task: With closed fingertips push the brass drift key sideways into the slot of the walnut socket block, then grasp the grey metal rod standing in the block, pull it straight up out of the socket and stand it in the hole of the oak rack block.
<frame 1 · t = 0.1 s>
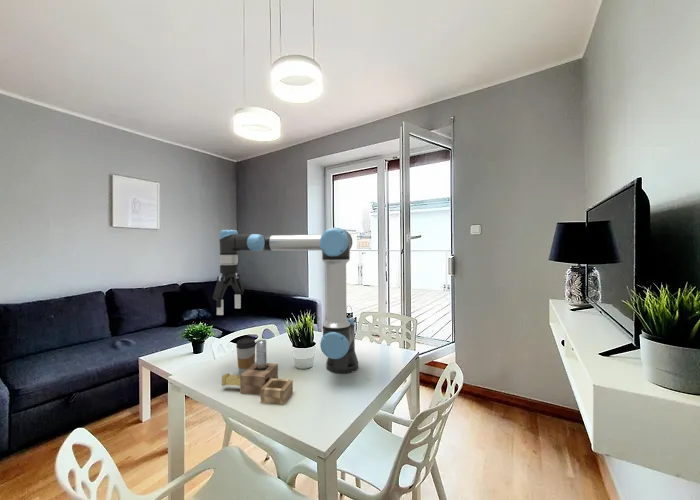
hand: (229, 311, 133), 28 cm above the table, fingers open, 13 cm apart
rack block: (277, 397, 111), on the table
grey metal rod: (261, 384, 122), resting in socket block
coffee cup: (246, 374, 132), on the table
drift key: (239, 380, 117), point 4 cm above the table, slide at 0.0 cm
socket block: (260, 386, 120), on the table
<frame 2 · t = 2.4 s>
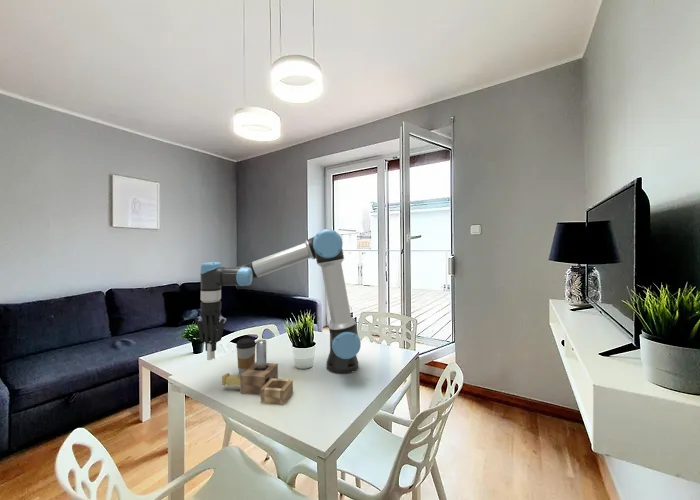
hand: (210, 358, 119), 12 cm above the table, fingers closed
nothing on the table moved.
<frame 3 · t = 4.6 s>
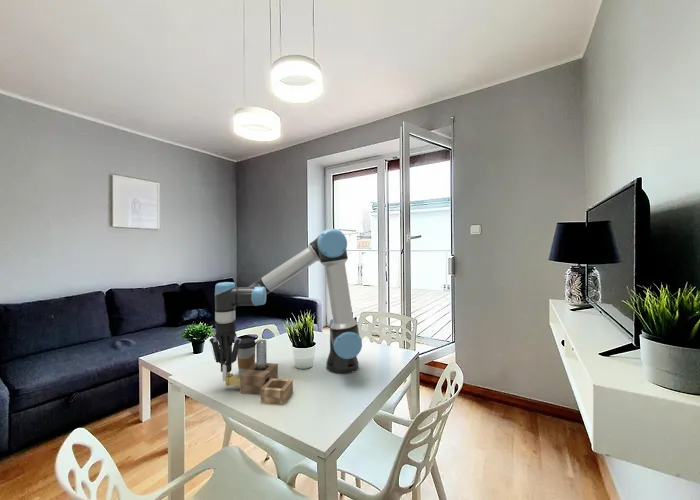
hand: (226, 379, 118), 4 cm above the table, fingers closed
drift key: (243, 380, 117), point 4 cm above the table, slide at 1.5 cm, touching gripper
everything else where it was.
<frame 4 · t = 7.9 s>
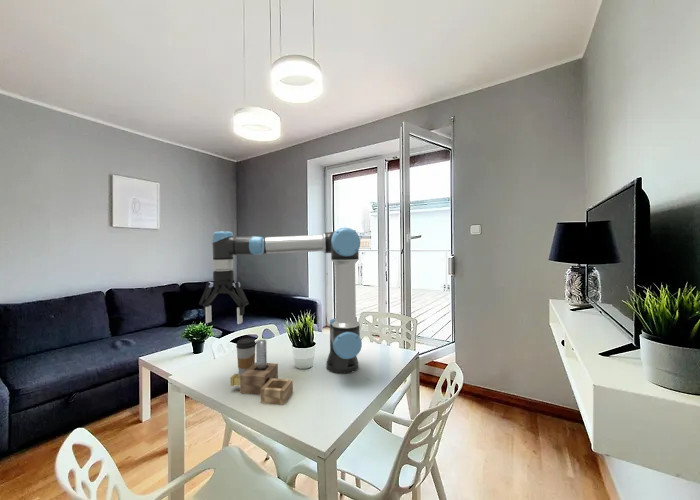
hand: (224, 323, 118), 26 cm above the table, fingers open, 13 cm apart
drift key: (248, 380, 117), point 4 cm above the table, slide at 3.6 cm
everything else where it was.
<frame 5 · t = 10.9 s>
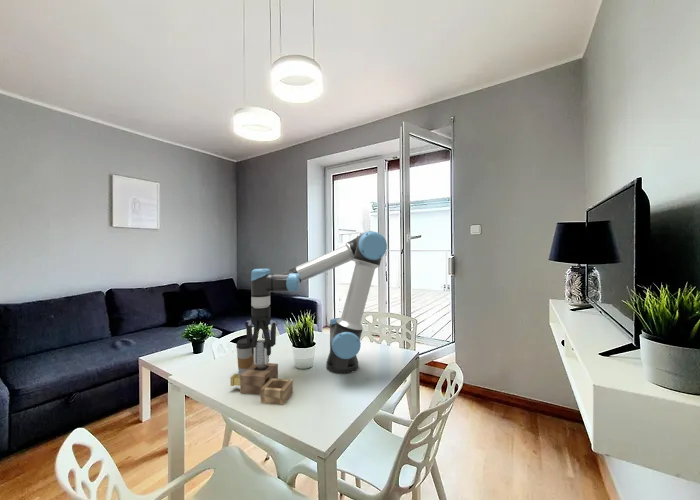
hand: (261, 362, 121), 9 cm above the table, fingers closed on grey metal rod, 4 cm apart
grey metal rod: (261, 384, 122), resting in socket block, touching gripper
everything else where it was.
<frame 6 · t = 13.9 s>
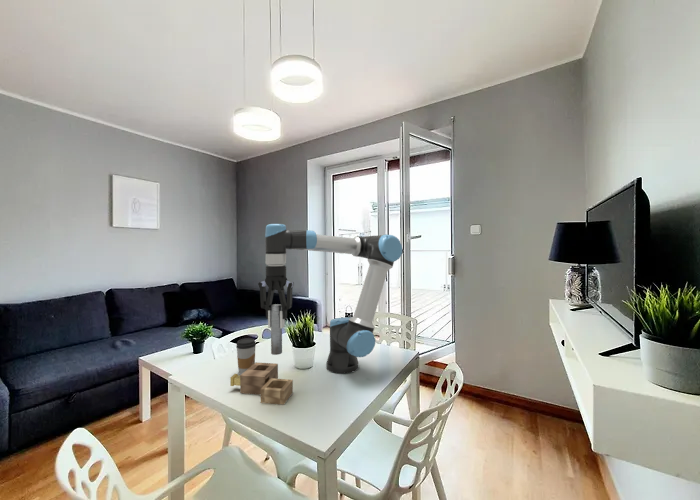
hand: (276, 327, 111), 27 cm above the table, fingers closed on grey metal rod, 4 cm apart
grey metal rod: (276, 352, 111), point 17 cm above the table, touching gripper
everything else where it was.
when the fingers open (11 cm above the table, at t = 16.8 s): grey metal rod drops 1 cm, resting in rack block.
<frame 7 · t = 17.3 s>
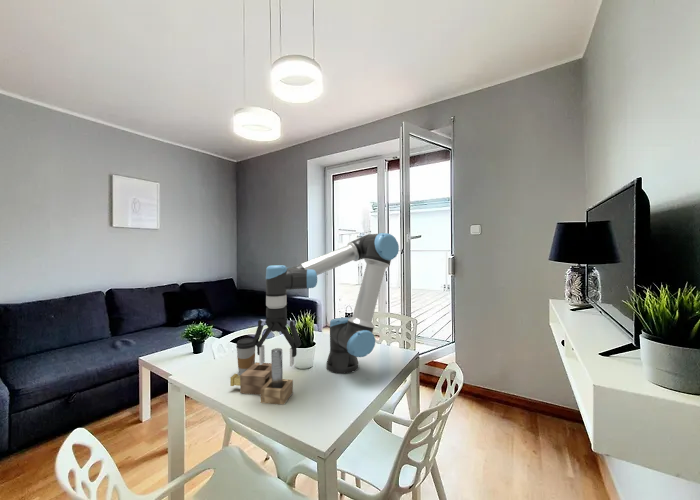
hand: (276, 364, 111), 13 cm above the table, fingers open, 11 cm apart
grey metal rod: (277, 397, 111), resting in rack block
everything else where it was.
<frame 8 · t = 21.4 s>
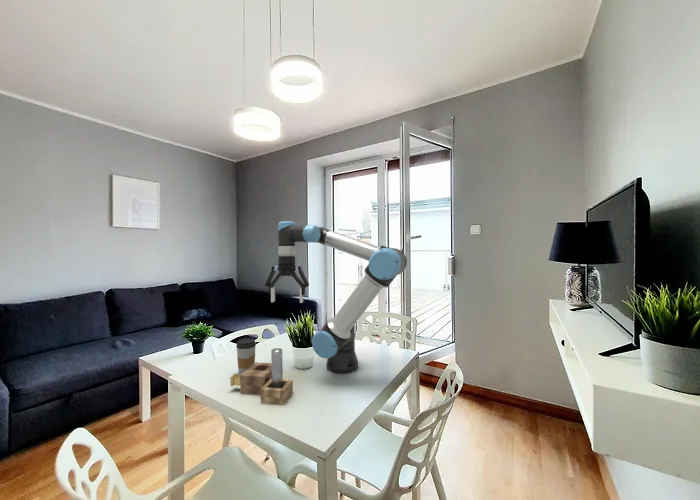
hand: (287, 302, 134), 32 cm above the table, fingers open, 13 cm apart
nothing on the table moved.
at the end: grey metal rod 0.0 cm off-centre on the rack block, point 0.0 cm above the rack block's base; grey metal rod tilted 0°; drift key slide at 3.6 cm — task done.
